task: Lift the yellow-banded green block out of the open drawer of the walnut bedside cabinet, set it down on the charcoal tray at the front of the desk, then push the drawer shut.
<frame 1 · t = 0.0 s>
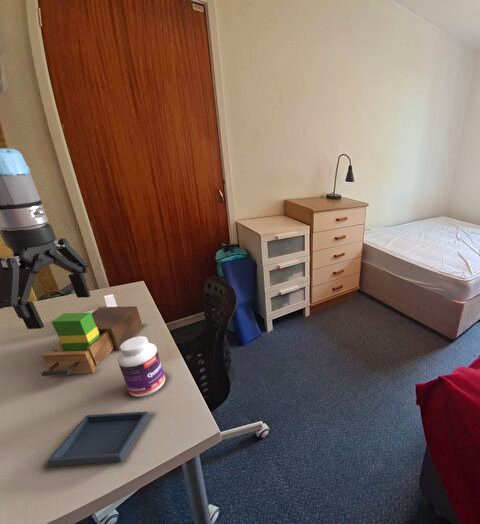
hand: (62, 311, 68), 22 cm above the table, tool pointing down, fingers open, 13 cm apart
cabinet: (113, 339, 92), on the table
bracket: (97, 319, 102), on the table
drawer: (79, 355, 79), point 4 cm above the table, slide at 8.5 cm, touching yellow-banded green block
yellow-banded green block: (88, 355, 82), point 2 cm above the table, touching drawer
pill bottle: (148, 386, 75), on the table
tray: (105, 441, 61), on the table
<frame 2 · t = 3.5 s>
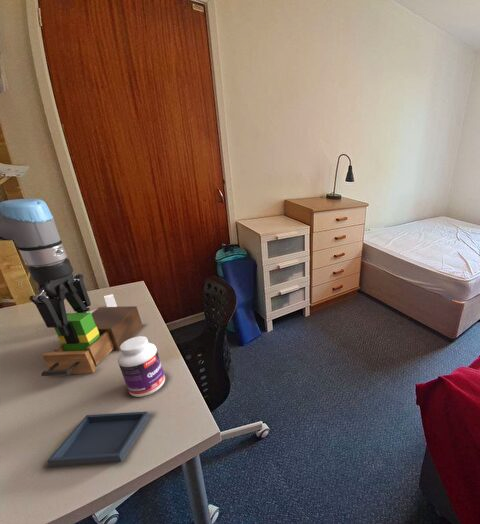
hand: (80, 337, 80), 9 cm above the table, tool pointing down, fingers closed on yellow-banded green block, 4 cm apart
yellow-banded green block: (88, 355, 82), point 2 cm above the table, touching drawer, gripper
everything else where it was.
when the fingers open (7 cm above the table, at t = 11.9 s): yellow-banded green block stays where it is, resting on tray.
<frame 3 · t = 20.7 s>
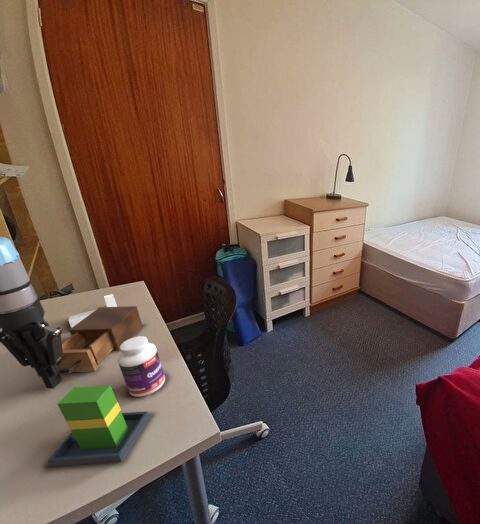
hand: (54, 384, 72), 2 cm above the table, tool pointing down, fingers closed
drawer: (80, 353, 80), point 4 cm above the table, slide at 7.8 cm, touching gripper
yellow-banded green block: (105, 439, 61), resting on tray
everything else where it was.
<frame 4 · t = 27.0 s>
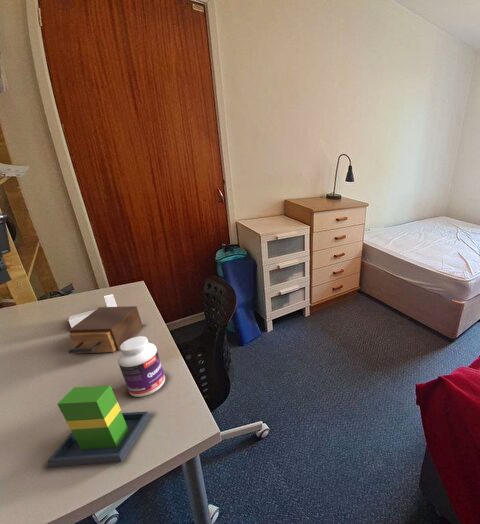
hand: (2, 282, 67), 28 cm above the table, tool pointing down, fingers closed
drawer: (100, 336, 87), point 4 cm above the table, slide at 0.0 cm, touching cabinet
everything else where it was.
at the end: yellow-banded green block inside the target area in the tray (0.3 cm from its centre), point 0.5 cm above the tray's base; the gripper is holding nothing; drawer slide at 0.0 cm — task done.
